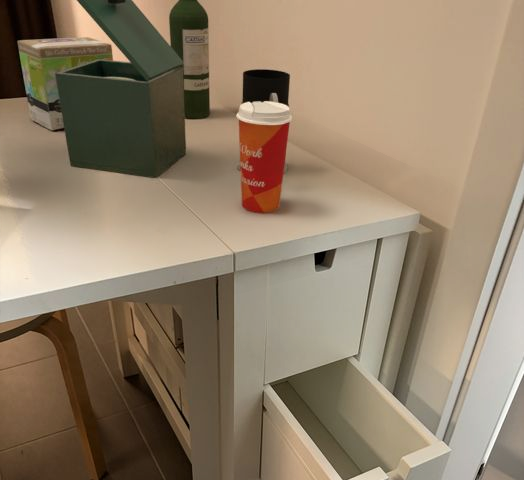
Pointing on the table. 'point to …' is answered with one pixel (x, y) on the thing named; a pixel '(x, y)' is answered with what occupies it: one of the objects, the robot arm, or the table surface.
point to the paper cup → (262, 153)
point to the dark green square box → (122, 118)
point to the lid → (134, 36)
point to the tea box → (47, 64)
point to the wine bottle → (192, 54)
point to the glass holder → (266, 88)
